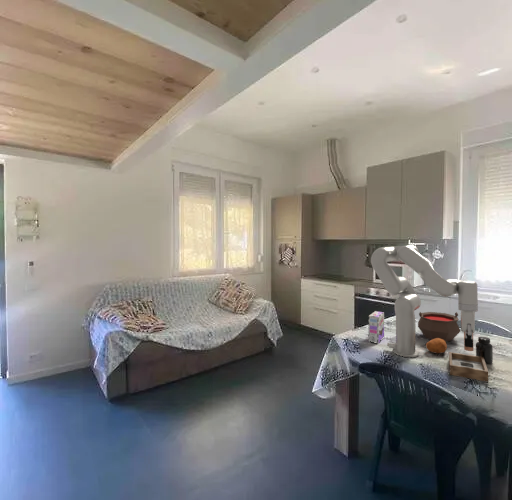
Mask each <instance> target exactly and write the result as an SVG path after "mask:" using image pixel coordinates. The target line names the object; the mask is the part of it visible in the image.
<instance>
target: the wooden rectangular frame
mask: <svg viewBox="0 0 512 500" xmlns="http://www.w3.org/2000/svg"><path fill="white" fill-rule="evenodd" d="M448 362H449V363H448V364H449V365H448V367H449V375H450V376H454V377H460V378H466V379H472V380H475V379H476V381H480V382H481V381H482V382H486V381H488V382H489V370H488V367H487V364H486V363H485V360H484V358H483V357H479V356H476V355H471V354H465V353H464V354H463V353H460V352H459V353H458V352H452V351H449V352H448Z"/></svg>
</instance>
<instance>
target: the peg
mask: <svg viewBox="0 0 512 500" xmlns="http://www.w3.org/2000/svg"><path fill="white" fill-rule="evenodd" d="M466 332H468V331H466ZM467 334H468V333H467ZM472 337H473V338H474V333H473V332H472ZM463 348H464V349H463V350H464V351H468V352H474V347H473V348H472V347H465V331H463Z"/></svg>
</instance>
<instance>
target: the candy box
mask: <svg viewBox="0 0 512 500" xmlns="http://www.w3.org/2000/svg"><path fill="white" fill-rule="evenodd" d="M383 337H384V338H385V312H382V311H377V310H374V312H372V313H371V314H369V315H368V339H367V341H371V342H376V343H379V344H380V342H381V341H382V340H383V339H384V338H383ZM382 338H383V339H382ZM381 339H382V340H381ZM380 340H381V341H380ZM371 342H370V343H371Z"/></svg>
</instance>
